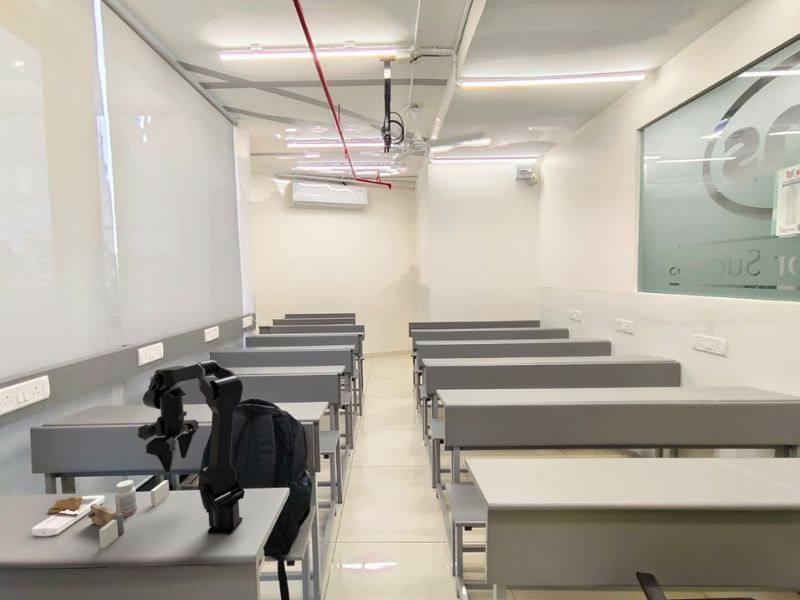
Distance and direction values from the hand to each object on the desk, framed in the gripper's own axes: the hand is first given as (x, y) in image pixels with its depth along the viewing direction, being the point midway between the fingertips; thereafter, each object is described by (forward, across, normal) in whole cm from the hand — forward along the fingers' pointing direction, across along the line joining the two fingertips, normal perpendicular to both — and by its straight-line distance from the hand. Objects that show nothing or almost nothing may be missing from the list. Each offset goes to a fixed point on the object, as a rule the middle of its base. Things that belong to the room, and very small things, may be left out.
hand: (176, 464), depth 119 cm
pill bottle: (+12, +3, -13) cm, 18 cm away
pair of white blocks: (+11, +6, -8) cm, 15 cm away
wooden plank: (+11, +10, -15) cm, 21 cm away
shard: (+12, -2, -31) cm, 33 cm away
